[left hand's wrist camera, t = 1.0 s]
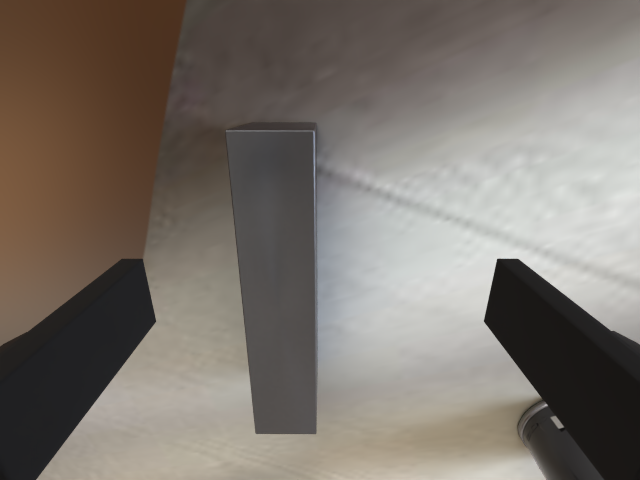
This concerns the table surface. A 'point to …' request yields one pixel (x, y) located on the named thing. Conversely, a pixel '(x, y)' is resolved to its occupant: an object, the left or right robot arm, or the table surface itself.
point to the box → (278, 268)
